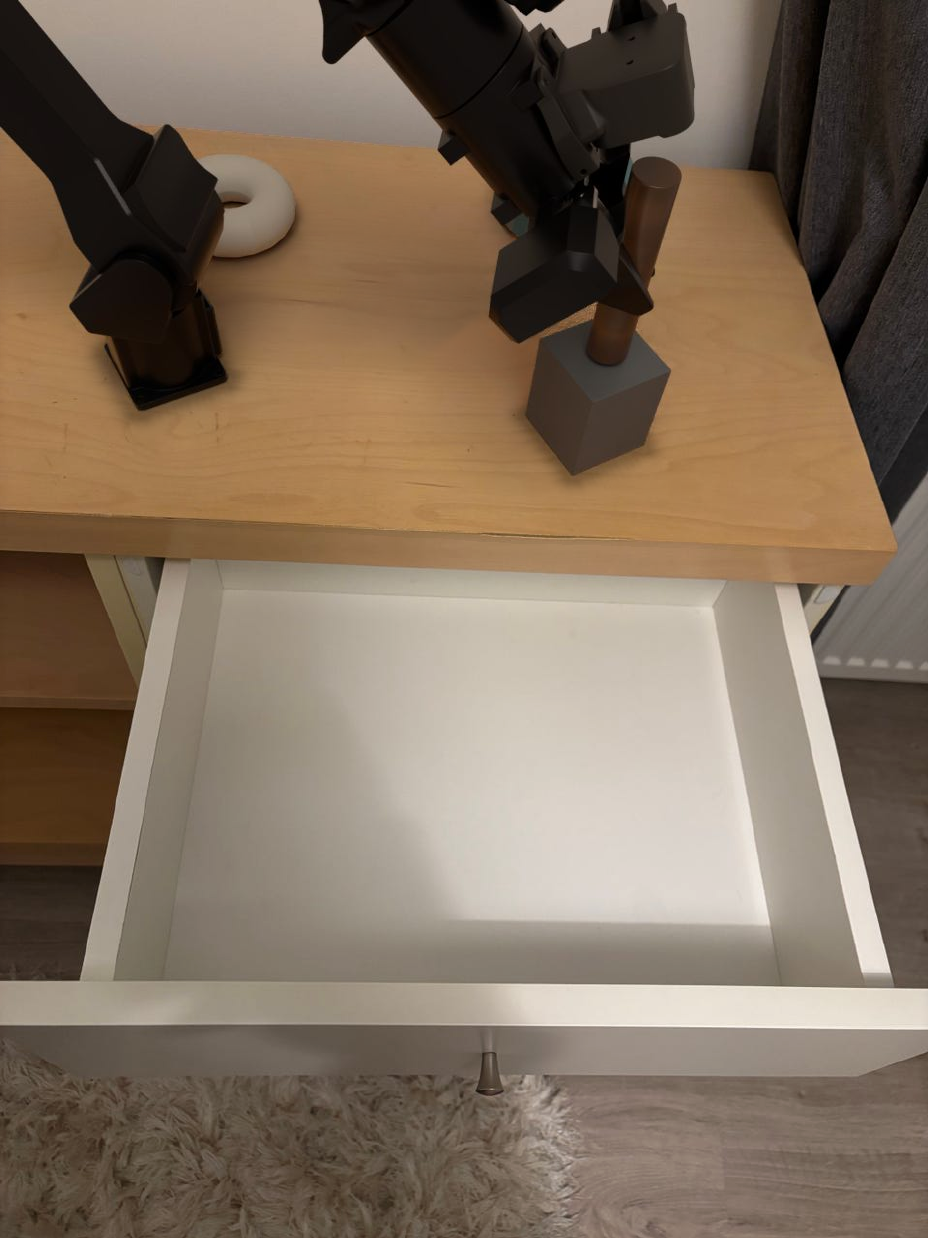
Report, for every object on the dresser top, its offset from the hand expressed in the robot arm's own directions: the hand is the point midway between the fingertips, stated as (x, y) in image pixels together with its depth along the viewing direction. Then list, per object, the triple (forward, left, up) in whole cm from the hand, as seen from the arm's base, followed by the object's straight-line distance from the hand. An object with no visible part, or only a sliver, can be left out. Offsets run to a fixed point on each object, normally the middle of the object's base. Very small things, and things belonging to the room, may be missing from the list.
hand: (647, 294), depth 52 cm
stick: (-1, +1, -5) cm, 5 cm away
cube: (-1, +1, -12) cm, 12 cm away
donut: (-14, +31, -12) cm, 36 cm away
